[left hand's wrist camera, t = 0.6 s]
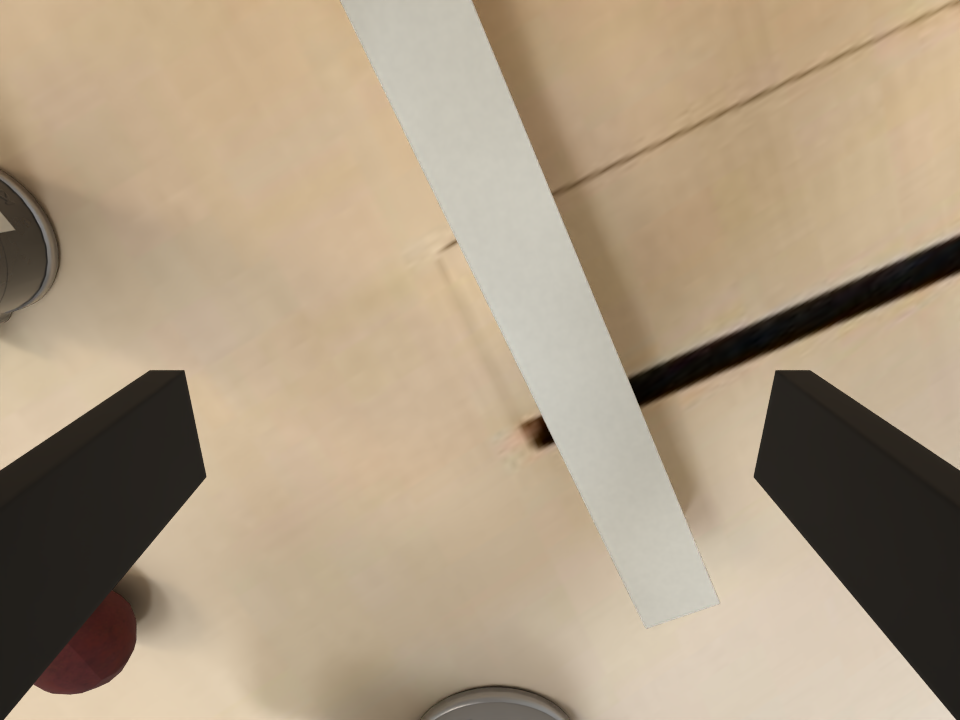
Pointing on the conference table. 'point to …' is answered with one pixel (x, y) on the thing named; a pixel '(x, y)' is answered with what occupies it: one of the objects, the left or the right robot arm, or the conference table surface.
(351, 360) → the conference table surface
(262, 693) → the conference table surface
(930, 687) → the left robot arm
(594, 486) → the bar
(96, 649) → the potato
